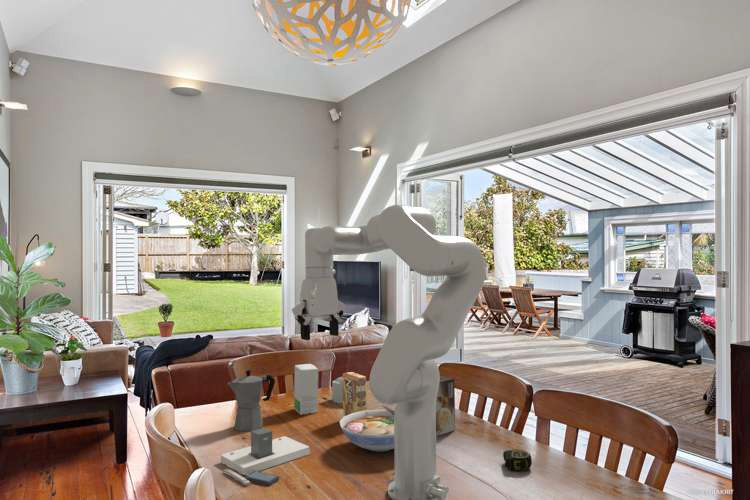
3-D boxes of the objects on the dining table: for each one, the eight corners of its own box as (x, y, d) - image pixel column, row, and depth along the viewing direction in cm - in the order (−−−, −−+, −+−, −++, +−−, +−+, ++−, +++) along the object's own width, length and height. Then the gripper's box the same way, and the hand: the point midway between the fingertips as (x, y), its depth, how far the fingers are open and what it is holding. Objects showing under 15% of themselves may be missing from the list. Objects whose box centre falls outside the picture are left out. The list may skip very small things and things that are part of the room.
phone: (279, 479, 126) (279, 476, 126) (269, 485, 123) (269, 482, 123) (254, 474, 130) (254, 470, 130) (244, 480, 126) (244, 476, 126)
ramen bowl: (328, 438, 154) (328, 411, 155) (399, 428, 163) (398, 402, 163) (355, 470, 131) (355, 438, 131) (436, 457, 139) (436, 426, 139)
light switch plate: (309, 454, 142) (309, 446, 142) (244, 476, 129) (244, 467, 129) (284, 442, 151) (284, 435, 151) (220, 462, 137) (220, 454, 137)
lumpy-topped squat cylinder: (346, 395, 202) (346, 372, 202) (373, 400, 195) (373, 377, 195) (328, 401, 194) (328, 378, 194) (356, 407, 186) (356, 382, 186)
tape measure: (503, 462, 136) (502, 447, 136) (530, 463, 135) (529, 449, 135) (504, 472, 130) (504, 457, 130) (533, 474, 128) (533, 459, 128)
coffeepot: (232, 435, 158) (231, 375, 158) (223, 426, 166) (223, 369, 166) (280, 426, 166) (280, 369, 166) (270, 418, 174) (269, 364, 174)
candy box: (367, 424, 167) (367, 376, 167) (356, 426, 165) (355, 378, 165) (353, 417, 175) (352, 371, 175) (342, 419, 172) (341, 373, 172)
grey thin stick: (250, 484, 124) (250, 481, 124) (245, 486, 123) (245, 482, 123) (228, 471, 131) (228, 467, 131) (223, 472, 131) (223, 469, 131)
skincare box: (293, 408, 184) (293, 364, 185) (311, 406, 187) (311, 363, 187) (300, 415, 177) (300, 369, 177) (319, 412, 180) (318, 367, 180)
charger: (272, 461, 138) (272, 431, 138) (259, 465, 135) (258, 434, 135) (264, 457, 140) (264, 427, 141) (251, 461, 138) (250, 431, 138)
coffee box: (440, 425, 165) (440, 374, 165) (456, 430, 160) (455, 378, 160) (419, 431, 159) (419, 379, 160) (435, 437, 154) (434, 383, 155)
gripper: (335, 272, 149) (336, 332, 149) (284, 274, 137) (285, 339, 137) (352, 273, 144) (353, 335, 144) (301, 275, 132) (302, 343, 132)
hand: (320, 337), depth 140 cm, fingers open, 9 cm apart
